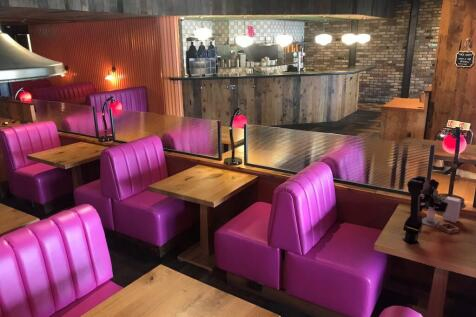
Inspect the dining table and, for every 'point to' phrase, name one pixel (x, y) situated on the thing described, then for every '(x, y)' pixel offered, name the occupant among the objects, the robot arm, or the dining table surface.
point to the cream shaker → (430, 214)
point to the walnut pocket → (453, 228)
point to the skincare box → (452, 209)
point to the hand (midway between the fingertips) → (431, 209)
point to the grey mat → (430, 222)
